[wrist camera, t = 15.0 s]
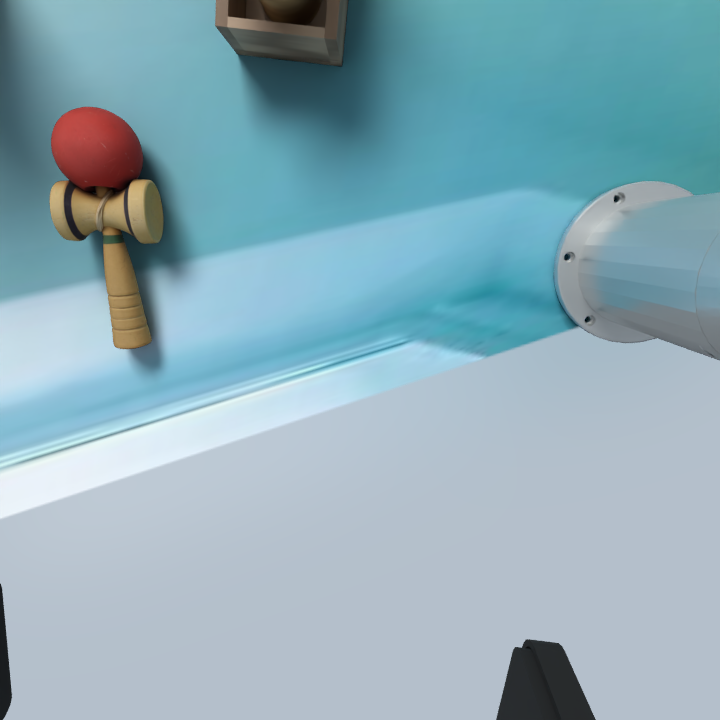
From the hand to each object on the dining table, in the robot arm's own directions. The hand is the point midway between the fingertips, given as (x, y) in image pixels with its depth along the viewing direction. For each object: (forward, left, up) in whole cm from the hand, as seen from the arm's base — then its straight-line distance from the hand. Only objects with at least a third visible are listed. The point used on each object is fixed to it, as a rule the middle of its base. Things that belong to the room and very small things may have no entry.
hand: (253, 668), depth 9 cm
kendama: (+19, -5, -34) cm, 39 cm away
